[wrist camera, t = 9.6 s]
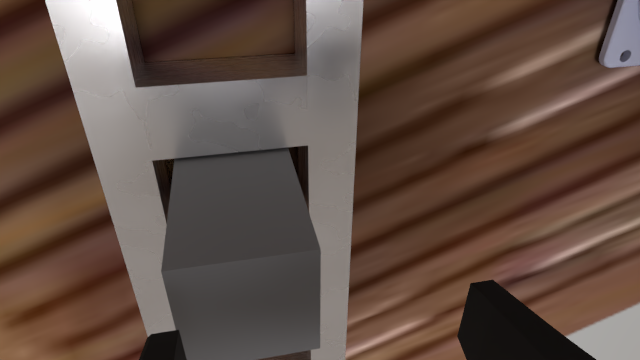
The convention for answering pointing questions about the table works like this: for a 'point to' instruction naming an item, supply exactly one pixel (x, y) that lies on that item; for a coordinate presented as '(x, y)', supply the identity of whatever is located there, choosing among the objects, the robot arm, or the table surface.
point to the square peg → (241, 257)
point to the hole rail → (218, 133)
